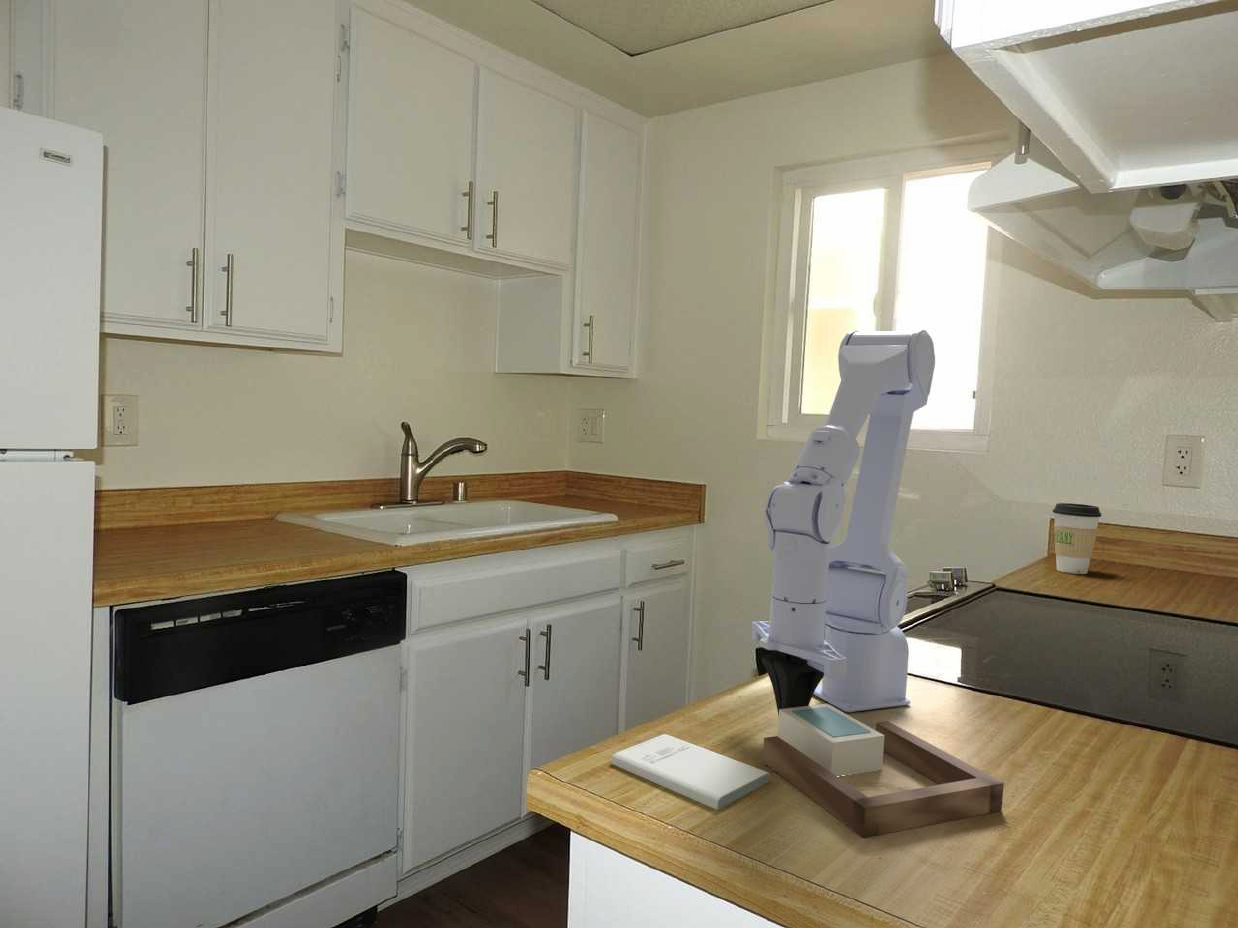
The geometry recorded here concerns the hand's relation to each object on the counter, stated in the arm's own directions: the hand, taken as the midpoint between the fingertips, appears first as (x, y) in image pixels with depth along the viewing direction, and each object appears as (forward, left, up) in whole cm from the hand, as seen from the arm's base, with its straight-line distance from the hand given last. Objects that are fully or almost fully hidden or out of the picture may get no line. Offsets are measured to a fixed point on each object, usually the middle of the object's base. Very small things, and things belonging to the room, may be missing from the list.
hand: (791, 724), depth 91 cm
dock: (-1, +13, -1) cm, 13 cm away
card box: (-1, +6, -1) cm, 6 cm away
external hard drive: (+15, +5, -2) cm, 16 cm away
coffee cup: (-119, -63, -1) cm, 135 cm away
